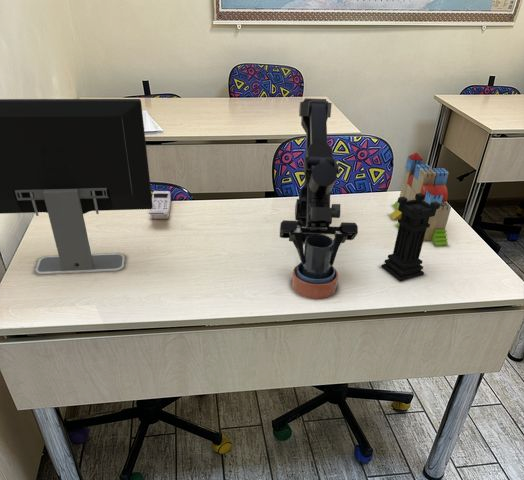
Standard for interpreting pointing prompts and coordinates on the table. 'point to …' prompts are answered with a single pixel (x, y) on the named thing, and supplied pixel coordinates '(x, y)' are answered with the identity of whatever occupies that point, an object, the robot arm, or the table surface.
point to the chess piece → (410, 237)
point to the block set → (426, 195)
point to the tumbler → (317, 256)
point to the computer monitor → (73, 170)
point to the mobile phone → (160, 205)
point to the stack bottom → (314, 287)
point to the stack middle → (315, 281)
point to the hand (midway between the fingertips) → (317, 264)
